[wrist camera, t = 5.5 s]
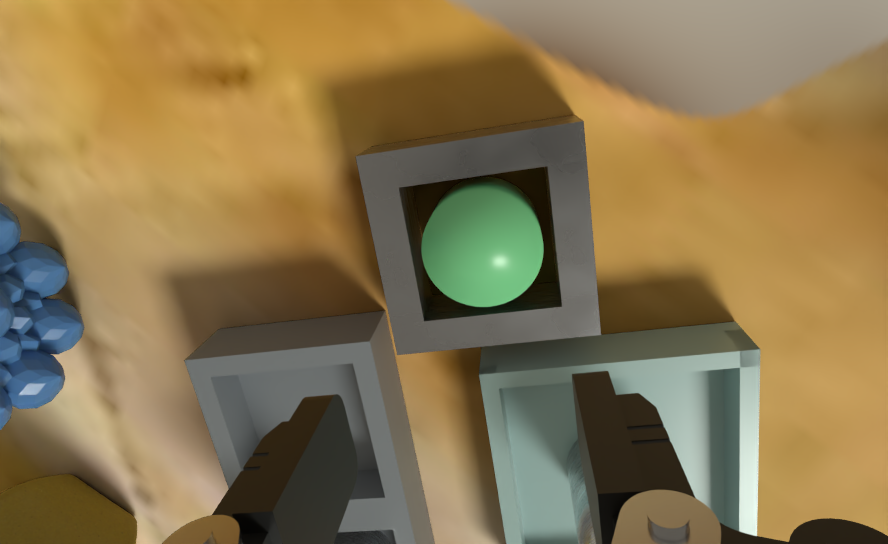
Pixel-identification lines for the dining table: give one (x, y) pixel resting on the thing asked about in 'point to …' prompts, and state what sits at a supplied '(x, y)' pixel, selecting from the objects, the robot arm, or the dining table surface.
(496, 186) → the button
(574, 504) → the cylinder
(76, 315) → the grapes
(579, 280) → the grey button housing
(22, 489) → the flower pot
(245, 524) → the robot arm
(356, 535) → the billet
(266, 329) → the tray
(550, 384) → the tray
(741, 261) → the dining table surface
